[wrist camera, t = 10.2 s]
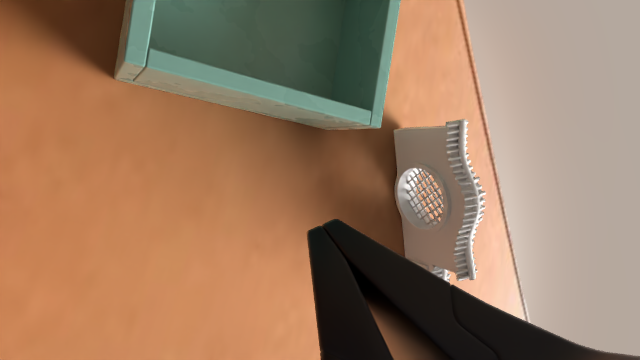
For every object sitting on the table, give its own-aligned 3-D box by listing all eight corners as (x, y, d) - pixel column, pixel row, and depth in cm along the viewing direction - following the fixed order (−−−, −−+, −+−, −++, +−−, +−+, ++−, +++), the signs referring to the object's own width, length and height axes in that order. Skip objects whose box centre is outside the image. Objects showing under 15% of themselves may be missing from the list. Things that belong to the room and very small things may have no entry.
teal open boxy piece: (329, 130, 23) (381, 128, 19) (113, 79, 18) (123, 61, 14) (354, -28, 23) (411, -63, 19) (146, -133, 18) (166, -214, 14)
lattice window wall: (422, 290, 29) (496, 322, 24) (403, 299, 28) (475, 334, 23) (407, 122, 27) (484, 117, 22) (386, 125, 26) (462, 121, 21)
